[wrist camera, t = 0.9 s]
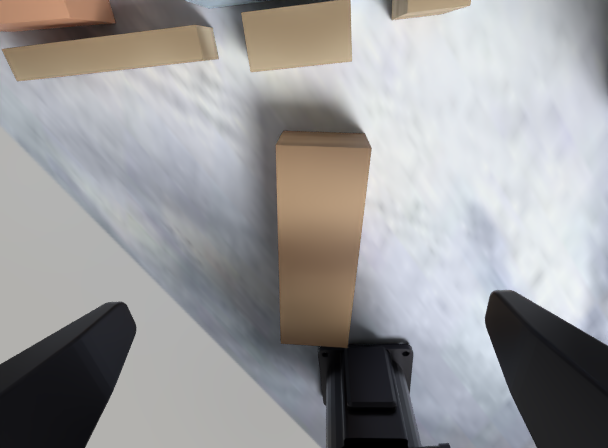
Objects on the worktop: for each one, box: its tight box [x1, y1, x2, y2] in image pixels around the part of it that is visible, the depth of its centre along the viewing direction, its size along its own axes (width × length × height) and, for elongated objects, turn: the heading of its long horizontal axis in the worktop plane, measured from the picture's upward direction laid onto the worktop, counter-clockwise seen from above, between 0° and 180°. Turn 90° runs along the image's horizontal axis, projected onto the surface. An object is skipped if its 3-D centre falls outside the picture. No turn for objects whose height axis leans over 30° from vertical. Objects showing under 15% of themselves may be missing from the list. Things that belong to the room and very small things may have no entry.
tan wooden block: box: [276, 131, 372, 348], centre depth 18 cm, size 12×4×3 cm, turn 179°
